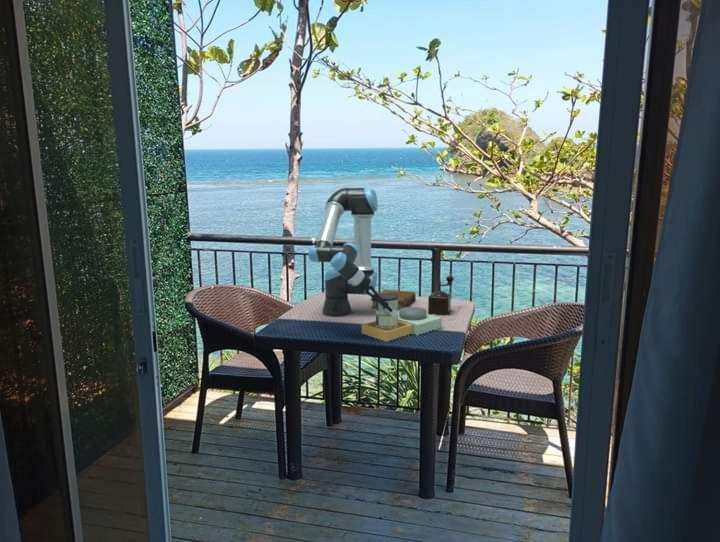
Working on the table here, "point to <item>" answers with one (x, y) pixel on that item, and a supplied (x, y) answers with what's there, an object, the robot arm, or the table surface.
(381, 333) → the shallow square tray
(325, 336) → the table surface
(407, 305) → the diary
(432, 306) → the pepper mill
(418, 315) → the block with grey dome
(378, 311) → the coffee can
